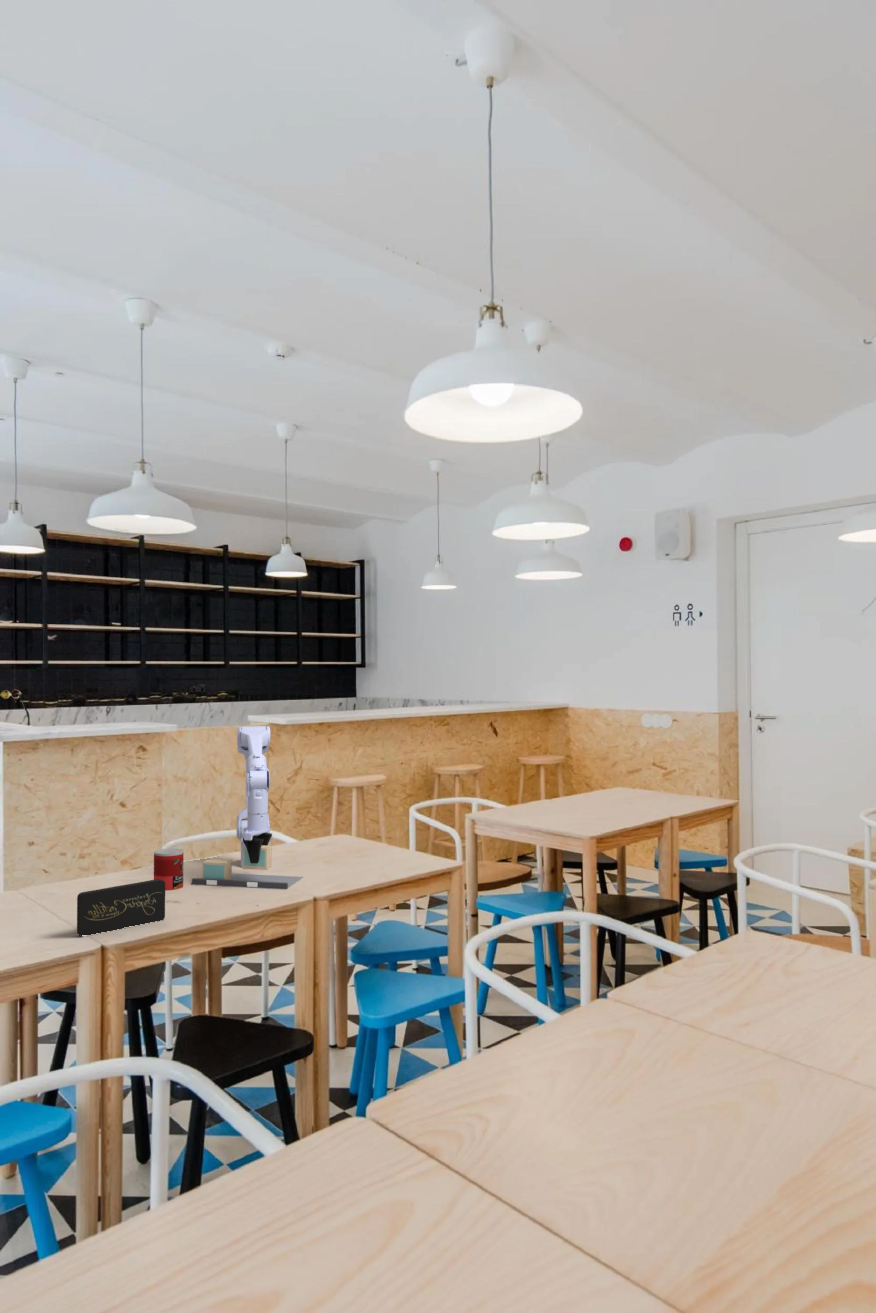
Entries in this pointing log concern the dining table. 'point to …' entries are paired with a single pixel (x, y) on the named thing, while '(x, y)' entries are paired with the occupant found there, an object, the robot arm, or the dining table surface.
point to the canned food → (169, 867)
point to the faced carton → (217, 869)
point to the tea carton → (264, 859)
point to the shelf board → (251, 881)
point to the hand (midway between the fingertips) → (257, 861)
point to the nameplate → (120, 907)
